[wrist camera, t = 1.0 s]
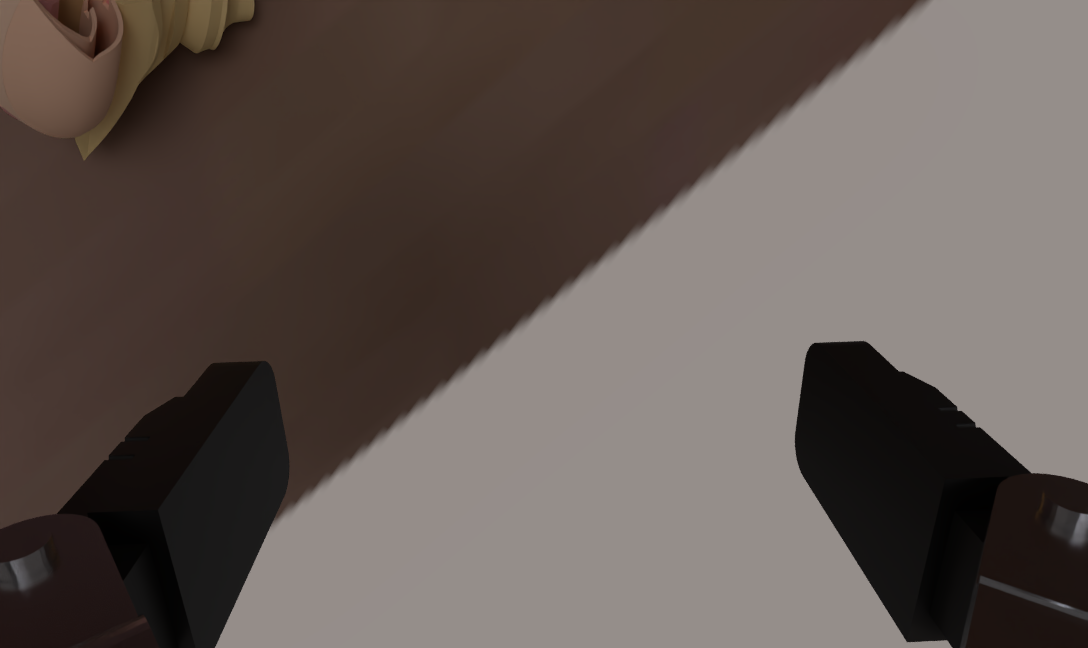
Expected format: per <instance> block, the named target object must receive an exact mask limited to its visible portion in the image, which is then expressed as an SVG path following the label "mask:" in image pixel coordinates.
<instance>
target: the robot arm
mask: <svg viewBox="0 0 1088 648" xmlns="http://www.w3.org/2000/svg"><path fill="white" fill-rule="evenodd" d="M795 450H796V457H797V461H798V465H799V468H800V471H801V473H802V475H803V477H804V479H805V480H806V482H807V483H808V485H809V487H810V488H811V490H812V491H813V493H814V494H815V496H816V498H817V499H818V501H819V502H820V504H821V506H822V507H823V509H824V510H825V512H826V514H827V515H828V517H829V518H830V520H831V522H832V523H833V525H834V526H835V528H836V530H837V531H838V533H839V534H840V536H841V537H842V539H843V541H844V542H845V544H846V546H847V547H848V549H849V550H850V552H851V553H852V555H853V557H854V558H855V560H856V561H857V563H858V565H859V566H860V568H861V569H862V571H863V572H864V574H865V576H866V577H867V579H868V581H869V582H870V584H871V585H872V587H873V589H874V590H875V592H876V593H877V595H878V596H879V598H880V600H881V601H882V603H883V605H884V606H885V608H886V609H887V611H888V612H889V614H890V616H891V617H892V619H893V620H894V622H895V623H896V625H897V627H898V628H899V630H900V632H901V633H902V635H903V636H904V638H905V639H906V641H907V642H921V641H941V640H948V642H949V643H950V645H951V646H952V647H953V648H1088V484H1087V483H1085V482H1081V481H1078V480H1074V479H1071V478H1066V477H1062V476H1056V475H1050V474H1038V473H1037V474H1035V473H1033V474H1032V473H1031V472H1029V471H1028V470H1027V469H1026V468H1025V467H1024V466H1023V465H1022V464H1020V463H1019V462H1018V461H1017V460H1016V459H1015V458H1014V457H1013V456H1011V455H1010V454H1009V453H1008V452H1007V451H1006V450H1005V449H1004V448H1003V447H1001V446H1000V445H999V444H998V443H997V442H996V441H995V440H993V438H991V437H990V436H989V435H988V434H987V433H986V432H985V431H984V430H982V429H981V428H980V427H979V428H976V426H975V422H973V421H972V420H971V419H970V418H969V417H968V416H967V415H966V414H965V413H963V412H962V411H958V410H957V406H956V405H954V404H953V403H952V402H951V401H950V400H949V399H947V397H945V396H944V395H943V394H942V393H941V392H940V391H939V390H938V389H936V388H935V387H933V386H931V385H929V384H927V383H925V382H923V381H921V380H919V379H917V378H915V377H913V376H911V375H909V374H907V373H905V372H899V371H898V370H897V369H896V368H894V367H893V366H892V365H891V364H890V363H889V362H888V361H887V360H886V359H885V358H884V357H883V356H882V355H881V354H880V353H879V352H877V351H876V350H875V349H874V348H873V347H872V346H871V345H870V344H869V343H867V342H864V341H854V342H830V343H829V342H828V343H827V342H826V343H814V344H812V345H811V346H810V348H809V350H808V352H807V355H806V358H805V365H804V372H803V380H802V387H801V394H800V403H799V409H798V417H797V425H796V432H795ZM288 479H289V454H288V448H287V442H286V437H285V431H284V426H283V420H282V415H281V409H280V404H279V398H278V393H277V387H276V382H275V377H274V373H273V370H272V368H271V366H270V364H269V363H268V362H266V361H257V362H228V363H213V364H211V365H210V366H209V367H208V368H207V369H206V371H205V372H204V373H203V374H202V375H201V377H200V378H199V379H198V380H197V381H196V383H195V384H194V385H193V386H192V387H191V389H190V390H189V391H188V392H187V393H186V395H185V396H184V397H174V398H173V399H171V400H170V401H168V402H166V403H165V404H163V405H161V406H160V407H158V408H156V409H155V410H153V411H151V412H150V413H148V414H147V415H145V416H144V417H143V418H142V419H141V420H140V421H139V422H138V423H137V424H136V426H135V427H134V428H133V429H132V430H131V431H130V432H129V433H128V435H127V436H126V437H125V442H120V444H119V445H118V446H117V447H116V448H115V449H114V450H113V451H112V453H111V454H110V455H109V460H104V462H103V463H102V464H101V465H100V466H99V467H98V468H97V469H96V471H95V472H94V473H93V474H92V475H91V476H90V477H89V478H88V480H87V481H86V482H85V483H84V484H83V485H82V486H81V487H80V489H79V490H78V491H77V492H76V493H75V494H74V495H73V496H72V498H71V499H70V500H69V501H68V502H67V503H66V504H65V505H64V506H63V508H62V509H61V510H60V511H59V512H58V513H57V514H53V515H46V516H40V517H36V518H32V519H28V520H24V521H21V522H18V523H15V524H12V525H10V526H7V527H5V528H2V529H0V648H215V646H216V644H217V642H218V640H219V638H220V635H221V633H222V631H223V629H224V627H225V624H226V622H227V620H228V618H229V616H230V614H231V611H232V609H233V607H234V605H235V603H236V600H237V598H238V596H239V594H240V592H241V590H242V587H243V585H244V583H245V581H246V579H247V576H248V574H249V572H250V570H251V568H252V566H253V563H254V561H255V559H256V557H257V555H258V552H259V550H260V548H261V546H262V544H263V542H264V539H265V537H266V535H267V533H268V531H269V528H270V526H271V524H272V522H273V520H274V518H275V515H276V513H277V511H278V509H279V507H280V504H281V502H282V500H283V498H284V495H285V493H286V489H287V485H288Z"/></svg>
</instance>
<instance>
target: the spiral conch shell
mask: <svg viewBox="0 0 1088 648" xmlns="http://www.w3.org/2000/svg"><path fill="white" fill-rule="evenodd" d="M253 14H254V0H0V107H1V109H3V110H4V111H5V112H6V113H7V114H8V115H10V116H12V117H13V118H15V119H17V120H19V121H21V122H23V123H24V124H26V125H28V126H30V127H31V128H33V129H35V130H37V131H39V132H41V133H43V134H45V135H48V136H51V137H55V138H61V139H67V138H74V137H75V141H76V143H77V146H78V148H79V150H80V153H81V155H82V157H83V160H84V161H85V159H86V158H87V157H88V156H89V154H90V153H91V152H92V151H93V150H94V149H95V148H96V147H97V146H98V145H99V144H100V142H101V141H102V140H103V139H104V138H105V137H106V135H107V134H108V133H109V132H110V130H111V129H112V128H113V126H114V125H115V124H116V122H117V121H118V119H119V118H120V116H121V115H122V114H123V112H124V110H125V109H126V107H127V105H128V104H129V102H130V100H131V99H132V97H133V95H134V93H135V91H136V89H137V87H138V85H139V84H140V83H141V82H142V81H143V79H144V78H145V77H146V76H147V75H148V74H149V73H151V72H152V71H153V70H154V69H155V68H156V67H157V66H158V65H159V64H160V63H161V62H162V61H163V60H164V59H165V58H166V57H167V56H168V55H169V54H170V53H171V52H172V51H173V50H174V49H175V48H176V47H177V46H178V45H179V43H181V44H182V45H184V46H185V47H187V48H188V49H190V50H191V51H192V52H194V53H199V52H202V51H204V50H207V49H210V50H215V49H216V48H217V46H218V45H219V43H220V40H221V37H222V34H223V32H224V30H225V29H226V28H227V27H228V26H229V25H231V24H232V23H236V22H242V21H250V20H251V19H252V17H253Z"/></svg>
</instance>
